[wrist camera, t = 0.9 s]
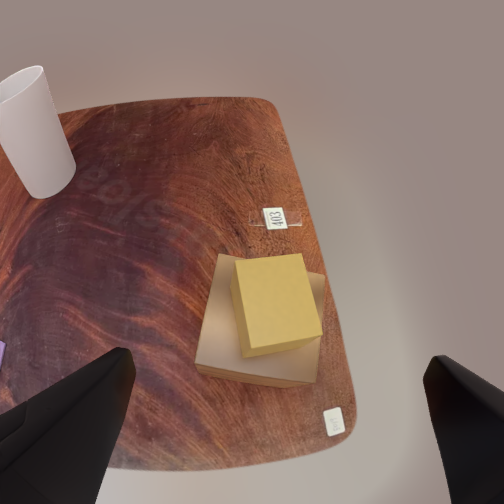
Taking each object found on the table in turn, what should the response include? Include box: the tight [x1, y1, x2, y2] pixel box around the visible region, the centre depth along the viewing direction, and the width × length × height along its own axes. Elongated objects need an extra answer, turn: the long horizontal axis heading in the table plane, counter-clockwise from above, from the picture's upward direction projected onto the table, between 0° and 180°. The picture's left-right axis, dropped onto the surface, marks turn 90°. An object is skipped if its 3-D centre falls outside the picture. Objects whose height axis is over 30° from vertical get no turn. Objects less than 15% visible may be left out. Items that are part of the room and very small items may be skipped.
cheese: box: [230, 253, 323, 358], centre depth 18 cm, size 5×4×4 cm
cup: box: [0, 66, 76, 199], centre depth 26 cm, size 8×8×16 cm
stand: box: [194, 254, 325, 388], centre depth 23 cm, size 8×8×9 cm
